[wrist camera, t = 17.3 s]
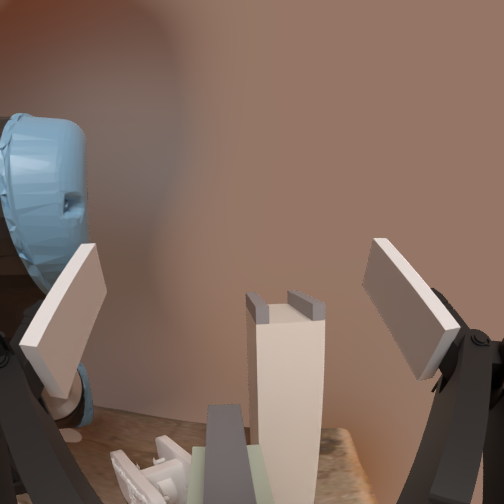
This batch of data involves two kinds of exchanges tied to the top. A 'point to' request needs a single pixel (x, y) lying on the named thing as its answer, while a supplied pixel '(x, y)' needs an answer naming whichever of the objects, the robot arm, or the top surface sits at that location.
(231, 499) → the bar
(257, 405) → the socket tower
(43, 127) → the robot arm
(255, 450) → the shelf
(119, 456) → the cable organizer
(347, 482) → the top surface
